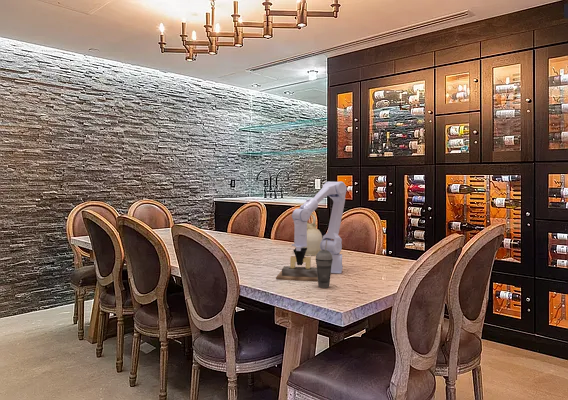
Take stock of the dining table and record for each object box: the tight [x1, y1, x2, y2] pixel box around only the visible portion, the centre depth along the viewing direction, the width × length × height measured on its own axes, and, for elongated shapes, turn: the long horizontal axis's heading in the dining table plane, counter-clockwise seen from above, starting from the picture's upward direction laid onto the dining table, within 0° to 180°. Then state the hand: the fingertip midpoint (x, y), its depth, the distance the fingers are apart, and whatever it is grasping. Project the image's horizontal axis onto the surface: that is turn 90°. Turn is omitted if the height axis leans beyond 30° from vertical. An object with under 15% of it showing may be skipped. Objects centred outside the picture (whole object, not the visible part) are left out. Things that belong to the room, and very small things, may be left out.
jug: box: [303, 212, 323, 256], centre depth 260 cm, size 15×16×25 cm
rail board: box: [275, 265, 318, 282], centre depth 196 cm, size 20×14×4 cm
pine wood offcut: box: [289, 255, 312, 270], centre depth 196 cm, size 9×3×6 cm, turn 80°
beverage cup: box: [314, 239, 333, 289], centre depth 178 cm, size 7×7×20 cm
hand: (300, 264), depth 196 cm, fingers closed on pine wood offcut, 3 cm apart
